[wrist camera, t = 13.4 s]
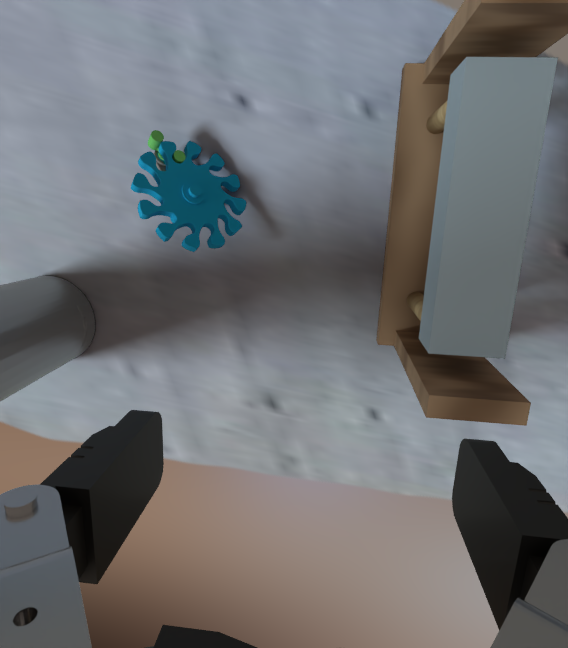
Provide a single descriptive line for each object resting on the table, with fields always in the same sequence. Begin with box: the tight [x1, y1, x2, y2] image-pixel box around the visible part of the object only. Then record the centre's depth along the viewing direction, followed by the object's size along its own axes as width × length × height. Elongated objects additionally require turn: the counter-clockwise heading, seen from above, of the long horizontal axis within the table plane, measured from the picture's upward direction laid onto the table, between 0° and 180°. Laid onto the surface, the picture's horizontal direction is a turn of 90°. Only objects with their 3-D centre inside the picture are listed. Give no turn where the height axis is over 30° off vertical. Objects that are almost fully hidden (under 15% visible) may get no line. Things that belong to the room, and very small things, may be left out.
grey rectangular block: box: [419, 57, 558, 359], centre depth 29 cm, size 18×5×4 cm, turn 178°
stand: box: [377, 0, 568, 425], centre depth 32 cm, size 9×24×16 cm, turn 178°
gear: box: [131, 130, 246, 252], centre depth 40 cm, size 11×6×10 cm
